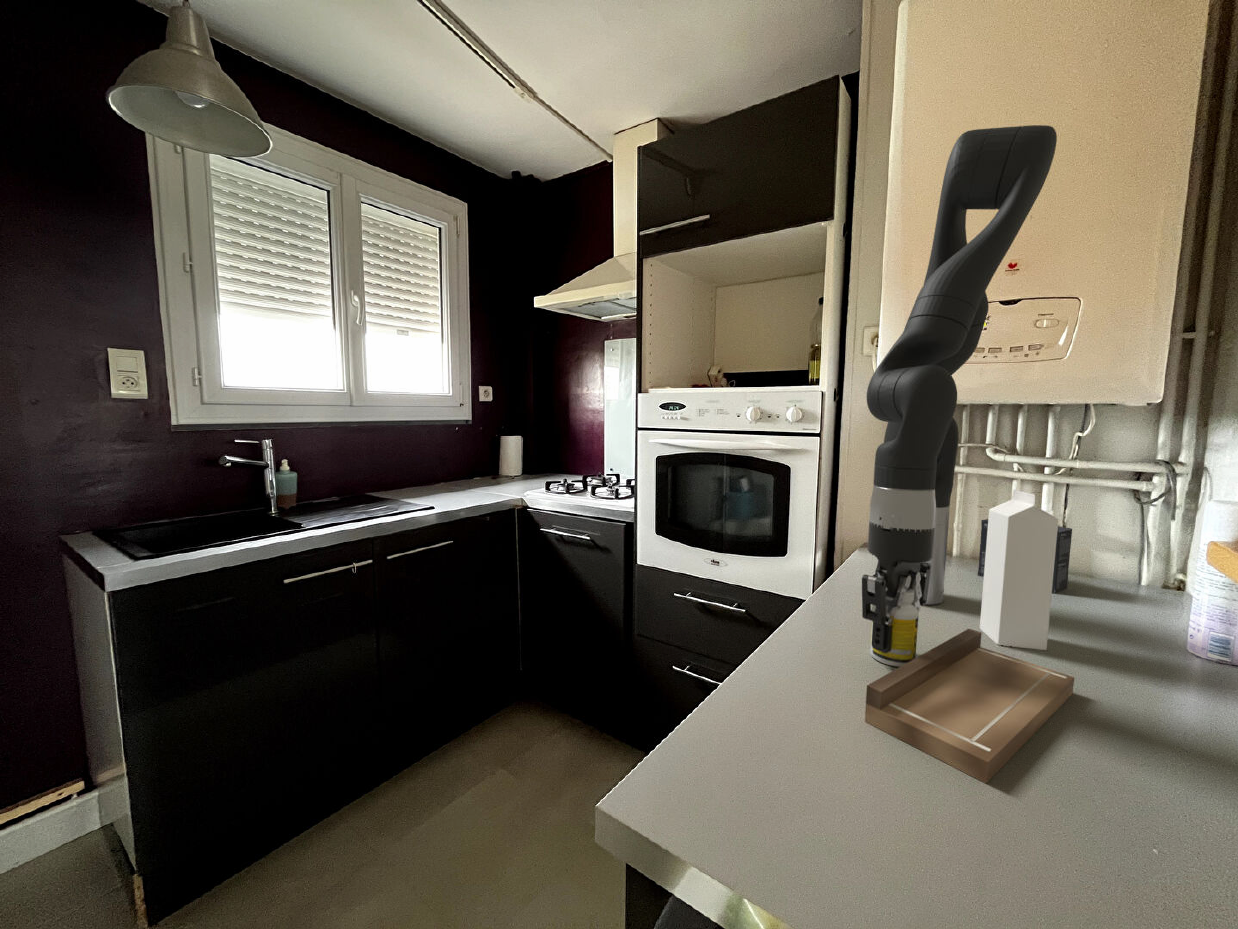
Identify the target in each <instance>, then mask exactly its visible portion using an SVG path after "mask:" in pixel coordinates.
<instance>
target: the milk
mask: <svg viewBox="0 0 1238 929" xmlns="http://www.w3.org/2000/svg"><path fill="white" fill-rule="evenodd" d="M1012 490H1013V491H1012V496H1011V497H1012V498H1011V499H1009V500H1007V501H1005V502H1003V503H1001V504H997V505H996V506H994V507H992V508H989V510H988V518H987V519H988V530H987V543H986V555H985V568H984V577H983V582H982V595H981V606H980V608H981V609H980V618H979V619H980V621H979V630H980V631H981V632H983V634H985V635H986V636H988V637H989V639H991V640H992V641H993V642H994V643H995V644H996V645H997V644H998V645H997V646H1001V645H1003V646H1002V647H1010V646H1012V648H1020V649H1021V648H1022V649H1029V650H1030V649H1031V650H1039V651H1047V648H1048V636H1049V635H1048V634H1049V624H1050V616H1051V615H1050V614H1051V605H1052V595H1053V594H1052V584H1053V573H1054V562H1055V551H1056V540H1057V529H1058V526H1059V518H1057V517H1056V516H1054V515H1052V514H1051V513H1048V512H1047V511H1045V510H1043V509H1042V508H1040V507H1038V506H1036V495H1035V494H1033V493H1030V492H1026V491H1022V490H1017V489H1012Z"/></svg>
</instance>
